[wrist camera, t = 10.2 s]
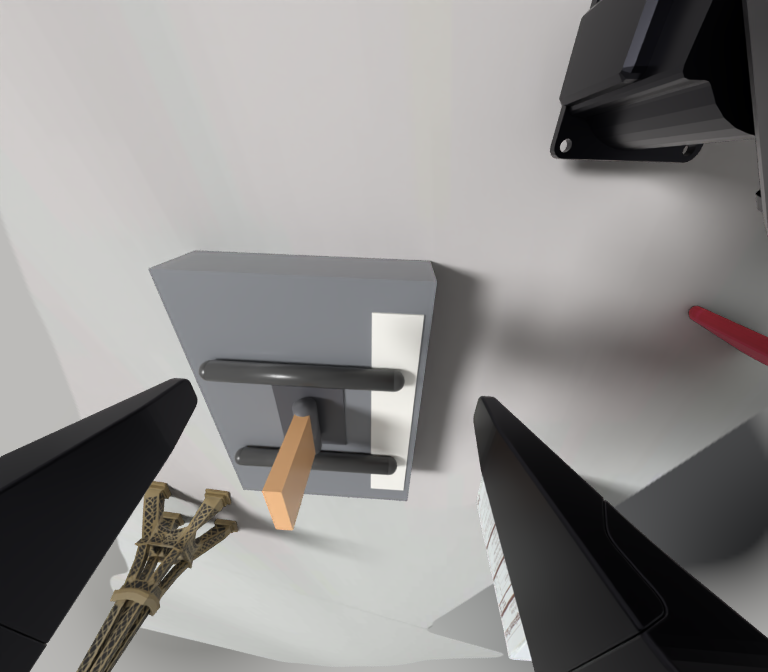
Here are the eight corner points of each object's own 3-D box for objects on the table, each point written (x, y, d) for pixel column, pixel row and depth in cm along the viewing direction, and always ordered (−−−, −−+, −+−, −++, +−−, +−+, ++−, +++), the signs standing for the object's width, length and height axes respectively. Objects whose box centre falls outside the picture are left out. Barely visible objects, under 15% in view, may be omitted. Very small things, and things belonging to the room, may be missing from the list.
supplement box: (554, 466, 29) (647, 645, 18) (536, 504, 32) (604, 670, 22) (482, 464, 29) (531, 638, 18) (473, 501, 33) (509, 663, 22)
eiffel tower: (144, 479, 34) (-281, 988, 13) (228, 491, 35) (-48, 1003, 13) (165, 519, 40) (-108, 924, 18) (238, 529, 40) (54, 936, 19)
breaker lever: (318, 397, 19) (286, 490, 14) (324, 438, 21) (298, 532, 16) (296, 396, 19) (255, 488, 14) (304, 437, 21) (271, 530, 16)
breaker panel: (430, 260, 18) (440, 291, 13) (406, 462, 29) (407, 516, 25) (194, 250, 18) (126, 277, 14) (261, 453, 30) (236, 504, 25)
